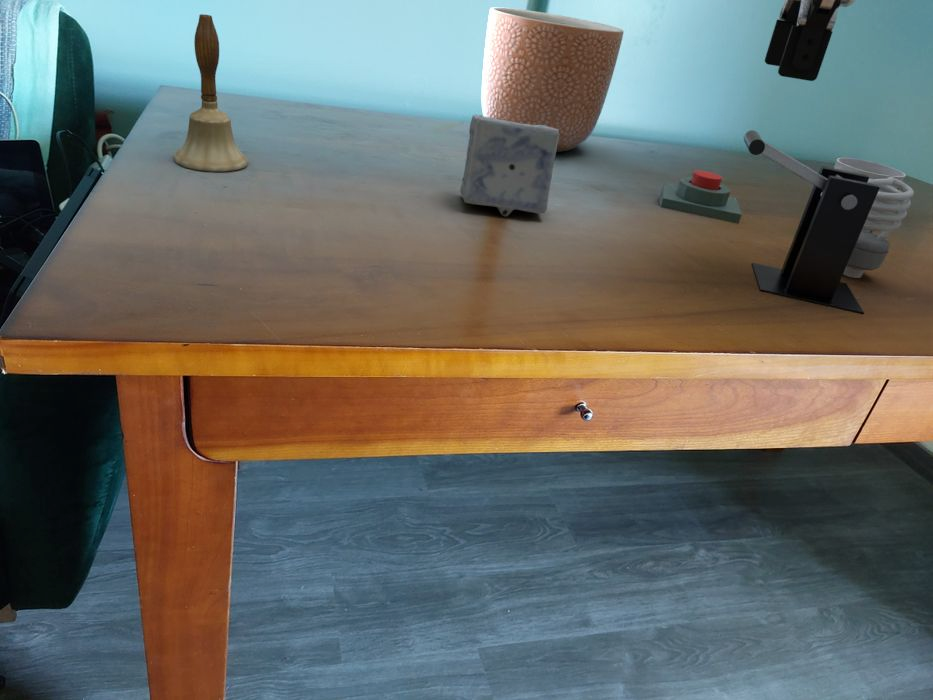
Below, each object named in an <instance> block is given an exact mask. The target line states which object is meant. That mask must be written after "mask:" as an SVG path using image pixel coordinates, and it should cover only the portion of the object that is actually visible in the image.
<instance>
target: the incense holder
mask: <svg viewBox="0 0 933 700" xmlns="http://www.w3.org/2000/svg"><path fill="white" fill-rule="evenodd" d="M468 131H469V139H468V145H467V149H466V159H465V165H464V171H463V177H462V179H461V185H460V189H459V193H460V195H461V196H462V199H463V201H464V203H465V204H471V205H476V206H478V205H479V206H487V207H493V208H497V210H498V211H499V213H500V215H501V216H502V217H508V216H510V214H511V213H512V212H513V211H514V210H517V211H522V212H527V213H534V214H545V213H546V212H547V209H548V204H549V196H550V190H551V183H552V178H553V172H554V171H553V170H554V165H555V160H556V154H557V152H556V151H557V144H558V141H559V130H558V129H555V128H552V127H548V126H545V125H529V124H522V123H516V122H511V121H506V120H498V119H494V118H488V117H485V116H483V115H480V114H473V115H472V117H471V120H470V124H469V130H468Z"/></svg>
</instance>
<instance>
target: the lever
mask: <svg viewBox="0 0 933 700" xmlns="http://www.w3.org/2000/svg"><path fill="white" fill-rule="evenodd" d="M743 141H744V143H745V145H746V148H747V150H748V152H749V154H751V155H753V156H759V155H763V156H764V157H765V158H768V159H769V160H771V161H773V162H774V163H776V164H778V165H779V166H781V167H783V168H785V169H786V170H787V171H789V172H791V173H793V174H795V175H796V176H798V177H800V178H801V179H803V180H804V181H807V182H808V183H810V184H812V185H813V186H814V185H815V186H817V187H818V188H820V189H822V190H824V188H825V185H826V183H827V180H828V179H827V178H826V177H824V176H822V175H821V174H819V172H817V171H815V170H814V169H813V168H811V167H809V166H807V165H805V164H804V163H802V162H800V161H798V160H797V159H795V158H794V157H792V156H790V155H789V154H787V153H785V152H784V151H781V150H780V149H778V148H776V147H775V146H773V145H772V144H769V142H766V141H765V140H763V139H762V137H761V135H760V134H759V132H758V131H757V130H753V129H751V130H748V131H746V133H745V134H744V136H743ZM835 177H840V178H842V177H841V176H839V175H837V174H836V175H835ZM822 193H823V191H822ZM822 193H821V194H820V196H821V195H822Z"/></svg>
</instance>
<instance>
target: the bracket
mask: <svg viewBox="0 0 933 700" xmlns="http://www.w3.org/2000/svg"><path fill="white" fill-rule="evenodd" d="M818 173H819V174H821V175H822V176H824V177H826V178H827V179H828V180H827V183H826V185H825V188H824V190H822V189H820V188H818V187H817V186H815V185H813V187H812V189H811V191H810V194H809V197H808V199H807V202H806V206H805V207H804V210H803V213H802V214H801V215H802V216H801V217H800V220H799V223H798V225H797V229H796V230H795V234H794V237H793V239H792V242H791V244H790V247H789V250H788V252H787V253H786V256H785V260H784V262H783V264H782V268H779V267H774V266H770V265H765V264H760V263H756V262H752V263H751V268H752V270H753V274H754V277H755V280H756V281H755V282H756V283H757V287H758V290H759V292H761V293H766V294H770V295H775V296H779V297H783V298H788V299H793V300H797V301H802V302H806V303H810V304H815V305H820V306H824V307H829V308H832V309H837V310H842V311H846V312H851V313H854V314H859V315H864V314H865V312H864V309H863V308H862V307H861V304H860V303H859V301H858V300H857V298H856V296H855V295H854V293H853V291H852V289H851V288H850V287H849V285H848V283H846V282H842V281H841V279H842V277H843V273H844V270H845V268H846V266H847V263H848V261H849V259H850V256H851V254H852V252H853V249H854V247H855V245H856V242H857V240H858V238H859V235H860V233H861V231H862V228H863V226H864V224H865V221H866V219H867V217H868V214H869V212H870V210H871V207H872V205H873V203H874V201H875V198H876V196H877V194H878V191H879V189H880V187H879V186H878V185H875V184H870V183H867V182H868V180H869V177H868V176H867V175H864V174H859V173H854V172H849V171H844V170H839V169H834V167H830V166H829V167H828V166H822V165H821V167H820V169H819V172H818ZM836 174H837V175H839V176H841V177H842V178H840V177H835V175H836ZM822 191H823V193H822ZM821 193H822V195H821V196H820V194H821Z"/></svg>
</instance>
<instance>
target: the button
mask: <svg viewBox="0 0 933 700" xmlns="http://www.w3.org/2000/svg"><path fill="white" fill-rule="evenodd" d="M691 178H692V181H691V184H692V185H694V186H697V187H700V188H704V189H709V190H718V189H719V186H720V184H722V183H721V182H722V180H723V177H722V175H721V176H720V175H719V174H717V173H714V172H710V171H704V170H694V171H693V175H692V177H691Z"/></svg>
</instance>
